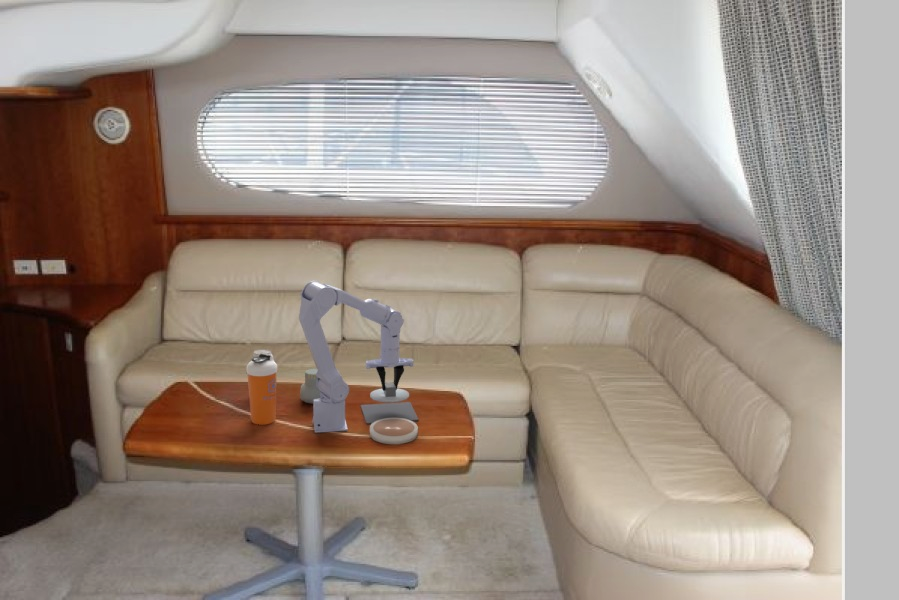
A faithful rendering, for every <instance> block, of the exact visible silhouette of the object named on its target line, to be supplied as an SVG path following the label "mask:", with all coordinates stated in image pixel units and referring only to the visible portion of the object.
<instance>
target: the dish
mask: <svg viewBox="0 0 899 600" xmlns="http://www.w3.org/2000/svg"><path fill="white" fill-rule="evenodd" d="M418 433H419V426H418V425H417V423H416V422H415V421H410V420H408V419H403V418H384V419H380V420H377V421H375V422H373V423H372V424H369V436H370V437H369V438H371V439H372V440H373V441H375V442H378V443H380V444H385V445H402V444H407V443H411V442H412V441H414V440H415V439H417V437H418V436H419V435H418Z"/></svg>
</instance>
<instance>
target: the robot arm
mask: <svg viewBox="0 0 899 600" xmlns="http://www.w3.org/2000/svg"><path fill="white" fill-rule="evenodd" d="M299 296H300V307H299V312H298V313H299V315H298V320H299V322H300V325H301V329H302V331H303V334H304V337H305V339H306V343H307V345H308V348H309V350H310V353H311V356H312V359H313V362H314V364H315V369H317V370H318V371H317V373H316V377H317V383H316V385H317V388H318V390H319V391H320V398H318V399H314V400H313V404H312V405H313V406H312V409H313V410H312V416H313V417H312V424H313V428H314V429H313V430H314V433H329V432H346V431H348V425H347V421H346V398H347V397H348V395H349V392H350V387H349V384H348V383H347V382H346V381H344V379H343V377H342V375H341V373H340V372H339V370H338V369H337V367H336V365H335V361H334V359H333V355H332V352H331V350H330V348H329V344H328V341H327V339H326V335H325V333H324V330H323V327H322V324H321V319H322V318H323V317H324V316H326V314H327V313H328V312H329V311H330V310H331V309H332V308H333V307H334V306H339V305H340V304H344V305H346V306H349V307H351V308H354V309H356V310H357V311H359V314H360V316H361V317H363V318H365V319H367V320H370V321H371V322H373V323H376V324H379V325H380V358H378V359H371V360H366V361H365V369H366V370H370V369H376V371H377V374H378V376H379V379H380V382H381V389H383V391H385V383H386V373H387V372H386V369H385V368H393V383H394V384H395V386H396V390H397V388H398V387H399V382H400V379H401V377H402V375H403V374H404V372H405V368H404V367H410V368H412V367H413V368H414V366H415V363H414V359H413V358H402V357H400V336H401V335H400V334H401V328H402V326H403V325H404V323H405V319H404V318H403V315H402V314H401V312H399V311H398V310H396V309H393V308H391V306H390V305H388V304H386V305H384V304H382V303H380V302H379V300H378V299H376V298H374V297H373V298H367V299H364V300H363V299H362V298H359V297H357V296H355V295H353V294H351V293H349V292H347V291H346V290H343V289H341V288H339V287H336V286H333V285H329V284H326V283H321V282H319V281H317V280H312V281H309V282H307V283H306V284H305V285H304V287H303V289H302V290H301V291H300V294H299Z"/></svg>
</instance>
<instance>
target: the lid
mask: <svg viewBox="0 0 899 600" xmlns="http://www.w3.org/2000/svg"><path fill="white" fill-rule="evenodd" d="M369 395H370V399H371V400H373V401H376V402H379V403H401V402H404V401H406V400H408V399H409V398H410V393H409V391H408V390H406V389H403V388H399V387H397V390H396V386H395V384H394V381H391V382H389V381H387V382H386V381H385V391H383V389H382V388H379V389H375V390H373V391H371V392H370V394H369Z"/></svg>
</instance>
